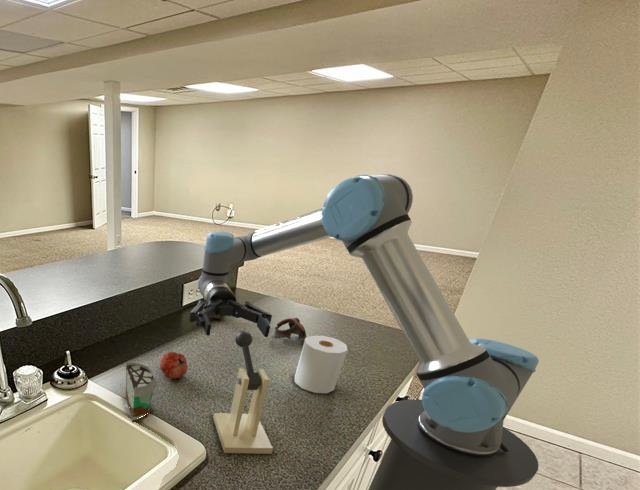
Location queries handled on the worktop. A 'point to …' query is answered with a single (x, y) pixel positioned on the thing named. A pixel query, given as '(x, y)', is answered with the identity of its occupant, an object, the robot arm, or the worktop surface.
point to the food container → (139, 390)
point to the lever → (248, 359)
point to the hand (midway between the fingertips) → (238, 331)
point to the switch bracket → (244, 419)
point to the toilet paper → (320, 364)
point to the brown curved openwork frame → (290, 329)
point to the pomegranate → (173, 365)
